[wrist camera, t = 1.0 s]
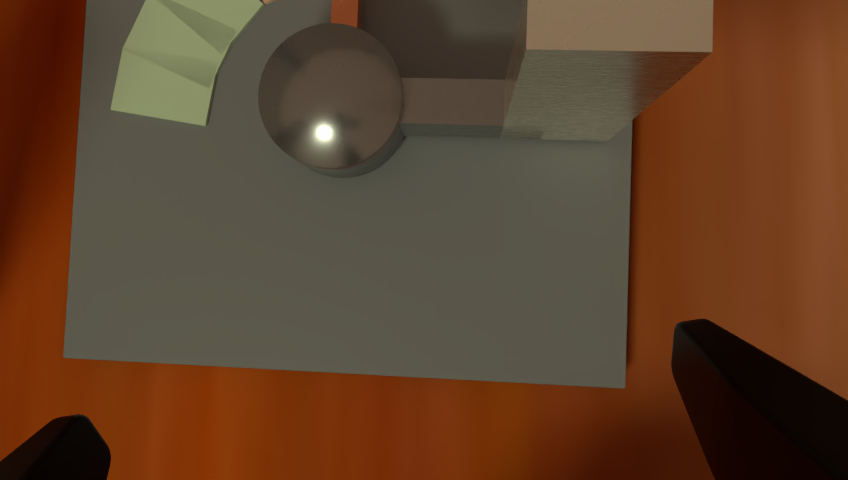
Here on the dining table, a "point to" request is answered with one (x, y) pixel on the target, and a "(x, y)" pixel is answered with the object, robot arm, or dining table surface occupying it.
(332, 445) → the dining table surface
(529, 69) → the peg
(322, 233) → the board
